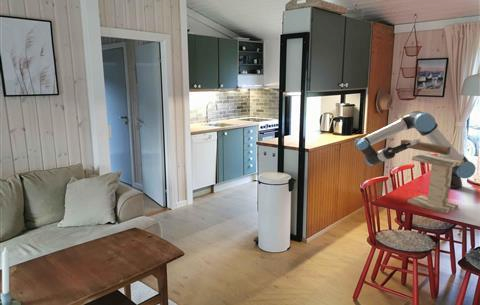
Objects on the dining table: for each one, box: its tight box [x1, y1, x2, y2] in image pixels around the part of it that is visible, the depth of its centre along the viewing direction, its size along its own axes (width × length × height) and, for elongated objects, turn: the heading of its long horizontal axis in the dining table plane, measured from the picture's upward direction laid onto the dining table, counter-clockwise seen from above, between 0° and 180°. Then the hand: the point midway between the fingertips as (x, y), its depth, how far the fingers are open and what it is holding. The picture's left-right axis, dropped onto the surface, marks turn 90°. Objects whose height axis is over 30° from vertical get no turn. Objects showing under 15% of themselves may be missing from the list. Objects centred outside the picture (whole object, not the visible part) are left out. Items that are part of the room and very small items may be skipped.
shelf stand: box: [407, 153, 464, 215], centre depth 215 cm, size 16×22×29 cm
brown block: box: [400, 139, 451, 155], centre depth 215 cm, size 4×28×4 cm, turn 33°
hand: (417, 141), depth 218 cm, fingers closed on brown block, 4 cm apart
